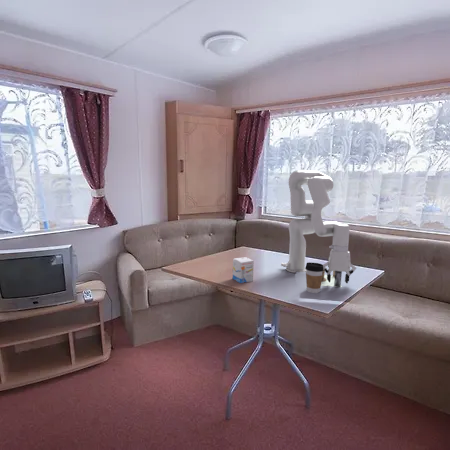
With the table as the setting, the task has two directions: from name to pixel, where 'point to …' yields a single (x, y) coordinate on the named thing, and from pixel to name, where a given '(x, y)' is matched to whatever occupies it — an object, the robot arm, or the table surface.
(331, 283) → the base board
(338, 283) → the peg
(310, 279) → the coffee cup
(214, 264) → the table surface
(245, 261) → the ink box
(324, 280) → the bobbin
